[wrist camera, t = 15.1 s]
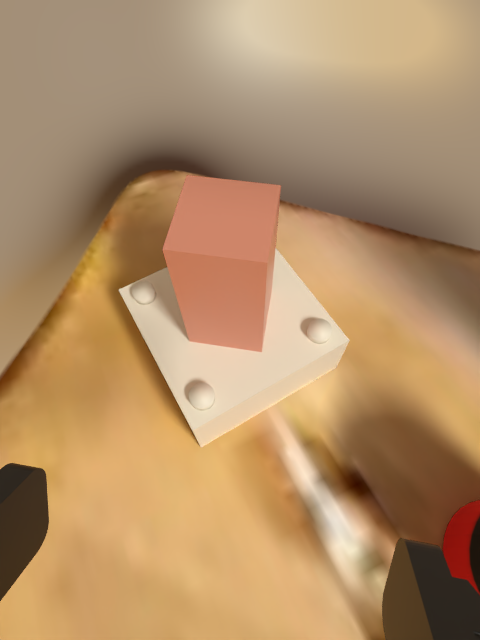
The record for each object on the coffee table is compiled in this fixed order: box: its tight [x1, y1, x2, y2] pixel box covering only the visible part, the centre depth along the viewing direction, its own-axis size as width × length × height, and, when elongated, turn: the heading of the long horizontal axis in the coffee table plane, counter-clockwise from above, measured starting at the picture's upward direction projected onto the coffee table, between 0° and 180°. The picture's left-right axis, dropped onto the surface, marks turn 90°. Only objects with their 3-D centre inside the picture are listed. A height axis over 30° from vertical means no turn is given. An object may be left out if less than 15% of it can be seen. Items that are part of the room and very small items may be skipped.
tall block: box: [162, 175, 281, 352], centre depth 25 cm, size 5×5×10 cm
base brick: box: [119, 249, 349, 447], centre depth 31 cm, size 12×12×6 cm
